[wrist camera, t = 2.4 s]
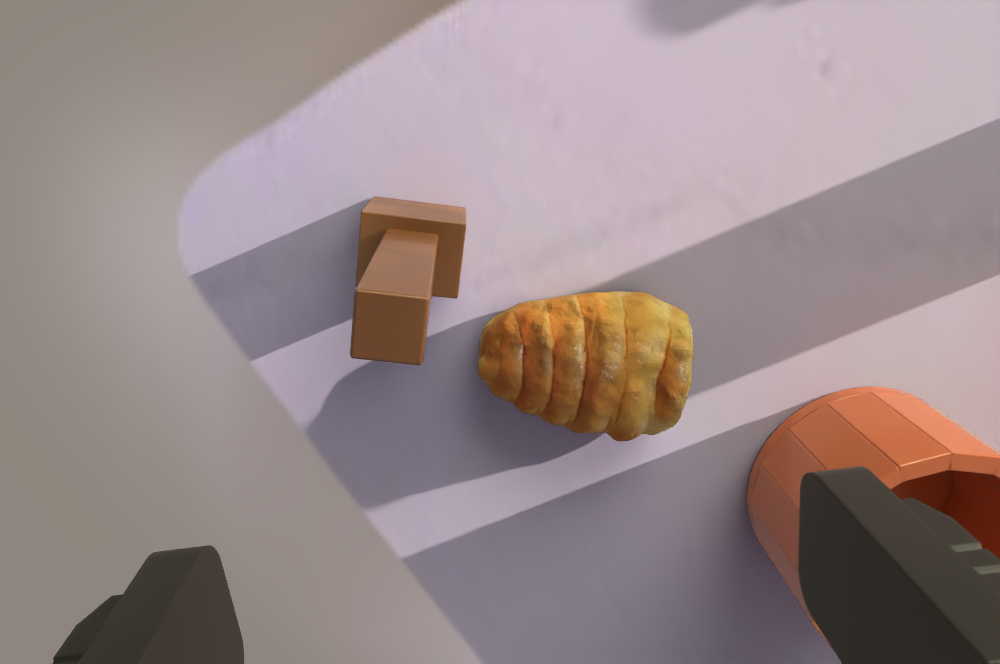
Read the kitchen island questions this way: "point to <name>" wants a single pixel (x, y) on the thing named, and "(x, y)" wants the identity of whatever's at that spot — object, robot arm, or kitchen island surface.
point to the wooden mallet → (403, 275)
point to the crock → (873, 467)
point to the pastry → (592, 361)
